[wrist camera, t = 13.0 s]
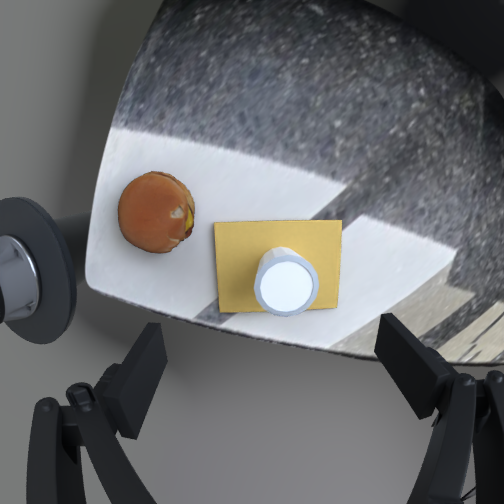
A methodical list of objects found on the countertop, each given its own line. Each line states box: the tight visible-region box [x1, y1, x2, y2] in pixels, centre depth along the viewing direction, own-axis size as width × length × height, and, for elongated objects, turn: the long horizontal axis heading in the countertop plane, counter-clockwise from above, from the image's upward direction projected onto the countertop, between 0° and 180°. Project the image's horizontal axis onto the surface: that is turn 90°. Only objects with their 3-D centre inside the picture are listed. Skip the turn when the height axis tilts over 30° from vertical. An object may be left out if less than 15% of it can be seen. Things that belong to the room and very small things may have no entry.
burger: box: [118, 171, 195, 253], centre depth 32 cm, size 10×9×5 cm
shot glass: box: [254, 247, 319, 317], centre depth 32 cm, size 7×7×7 cm
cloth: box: [214, 220, 342, 312], centre depth 36 cm, size 16×12×1 cm
